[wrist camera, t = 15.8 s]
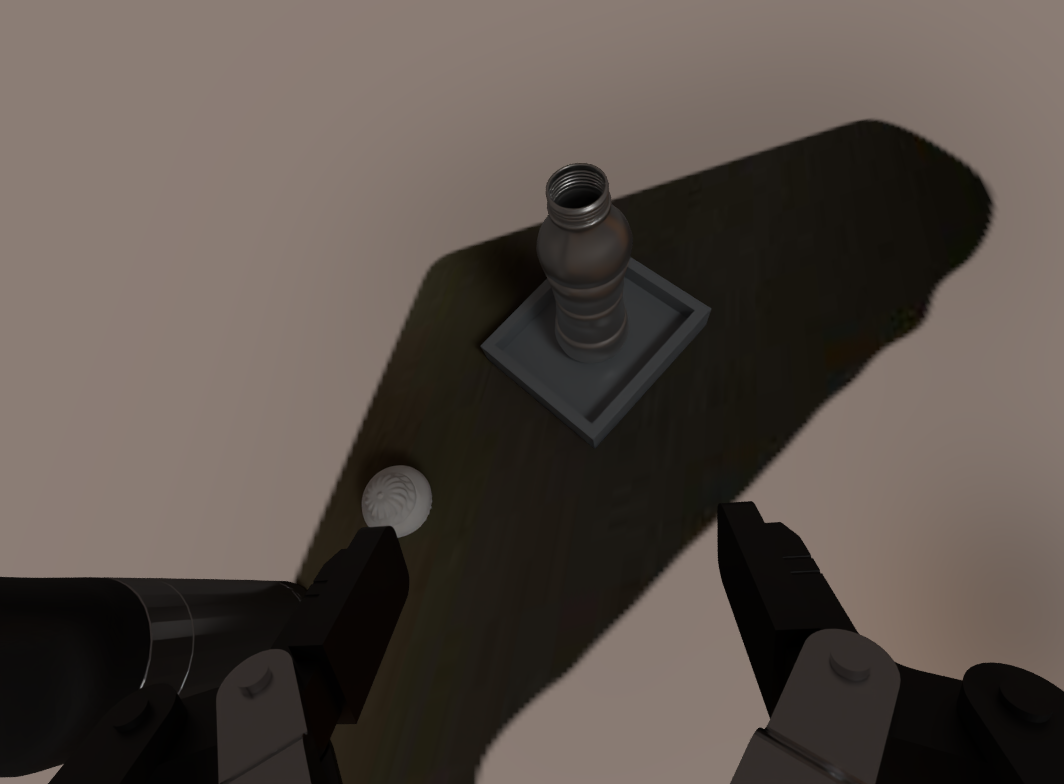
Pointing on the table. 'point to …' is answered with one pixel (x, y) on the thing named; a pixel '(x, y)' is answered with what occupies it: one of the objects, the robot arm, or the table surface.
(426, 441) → the table surface
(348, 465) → the table surface
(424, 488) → the muffin
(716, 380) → the table surface
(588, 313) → the plastic bottle
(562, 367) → the tray
